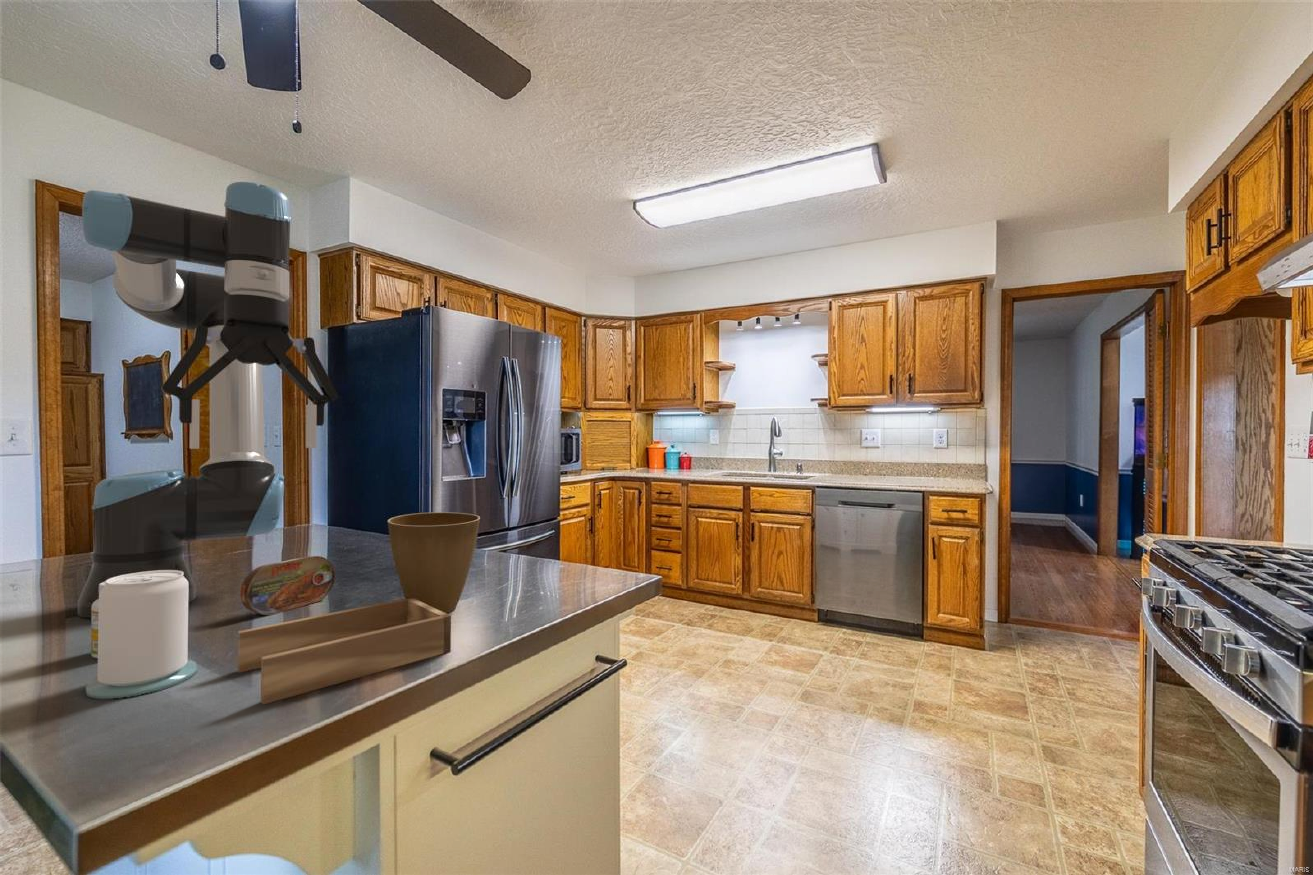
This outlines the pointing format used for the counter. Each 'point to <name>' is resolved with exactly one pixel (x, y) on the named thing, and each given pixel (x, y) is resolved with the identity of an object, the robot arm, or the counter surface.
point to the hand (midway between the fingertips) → (256, 448)
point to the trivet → (140, 685)
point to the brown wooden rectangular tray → (342, 646)
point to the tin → (287, 585)
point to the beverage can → (142, 627)
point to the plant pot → (433, 555)
